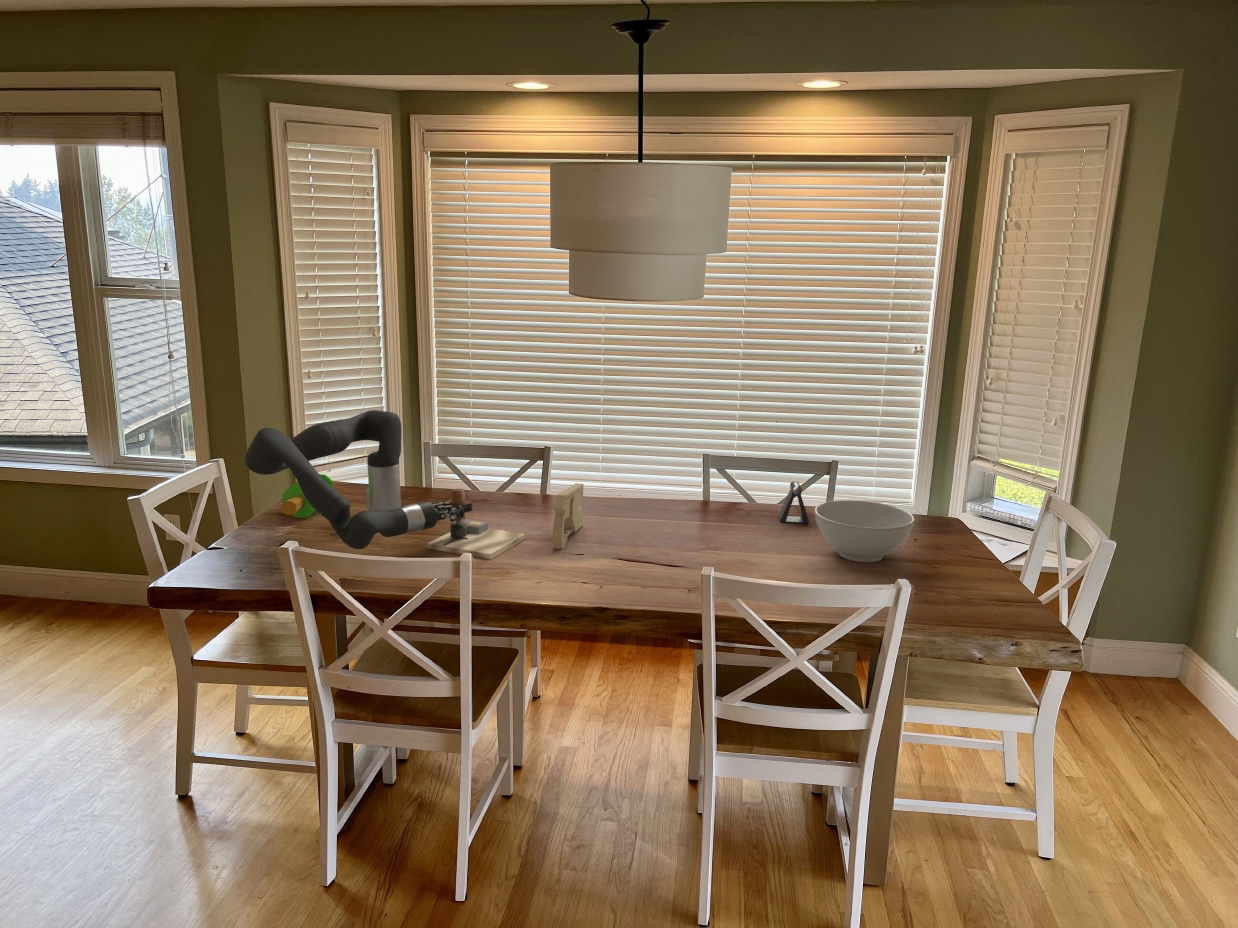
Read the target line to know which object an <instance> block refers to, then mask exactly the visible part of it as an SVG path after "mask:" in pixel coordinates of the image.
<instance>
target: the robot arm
mask: <svg viewBox="0 0 1238 928" xmlns="http://www.w3.org/2000/svg"><path fill="white" fill-rule="evenodd" d="M402 433H403V432H402V422H401V419H400V417H399V415H398V414H397V413H395V412H393V411H385V410H377V409H374V410H372V409H371V410H367V411H364V412H362V413H360V414H357V415H355V416H352V417H348V418H340V419H336V420H335V419H334V420H329V421H324V422H320V423H316V424H313V425H311V426H309V427H308V428H305V429H304V430H302V431H301V432H299V433H298V434H296V435H295V436H293V437H292V438H289V436H287V435H286V434H285V433H284V432H282V431H281V430H279V429H277V428H274V427H263V428H261V429H259V430H258V431H257V432H256V434H255V436H254V437H253V439H252V441H251V443H250V445H249V446H248V448H247V451H246V453H245V455H244V456H245V457H244V464H245V466H246V467H247V469H249V470H250V471H251V472H252V473H255V474H258V475H263V476H264V475H265V476H266V475H267V476H268V475H274V474H277V473H280V472H281V471H285V470H286V469H289V470H290V472H291V473H292V474H293V476H294V477H295V479H296V482H298V484H299V486H300V488H301V490H302V492H303V494H304V496H305V498H306V500H307V501H308V502H309V504H310V505H311V506H312V507H313V508H314V509H315V510H316V512H317V513H319V515H321V516H322V517H324V518H325V519H326V520H327V521H328V523H329V524H330V525H331V527H332V529H333V530H334V532H335V533H336V534H337V536H338V537H339V538H340V540H341V541H342V542H343V543H344V544H345V545H347V546H348V547H350V548H351V549H353V550H364V549H366V548H367V547H368V546H369V545H370V544H371V542H372V540H373V538H374V537H375V535H376V534H380V535H381V536H382V537H385V538H393V537H397V536H400V535H406V534H412V533H417V532H420V531H421V532H422V531H425V530H428V529H432V528H434V527H435V526H436V524H437V523H438V522H441V521H442V522H443V521H446V520H450V521H449V522H452V523H455V522H456V520H458V519H460V518H462V517H464V513H465V514H467V513H470V512H472V511H473V504H472V503H470V502H469V503H465V504H464V505H459V506H453V505H452V501H446V502H445V500H438V501H428V500H423V501H420V502H415V503H409V504H406V505H403V506H402V505H401V504H402V501H401V500H402V499H401V477H400V476H401V475H400V472H401V471H400V457H401V453H402ZM360 441H372V442H378V450H377V451H375V452H371V453H369V454H368V455H367V458H366V459H367V460H366V461H367V476H368V483H367V484H368V487H367V488H366V489H365V494H366V495H365V496H366V499H365V500H366V509H365V510H362V511H359V512H357V513H355V514H354V515H353V516H352V514H351V510H350V509H351V503H350V501H349V500H348V499H347V498H345V497H344V496H343V495H342V494H341V493H340V492H339V491H337V489H335V488H334V486H333V487H332V486H331V485H330V484H328V483H327V482H326V481H325V480H324V479H323V478H322V477H321V475H320V473H319V472H318V471H317V470H316V469H315V467H314V466H313V465H312V464H311V462H310V461H313V460H317V459H321V458H324V457H330V456H332V455H336V454H341V453H342V452H343V451H345V450H346V449H347V448H348V447H349V446H350V445H351V444H352V443H355V442H360ZM455 509H456V510H455Z"/></svg>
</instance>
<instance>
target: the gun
mask: <svg viewBox="0 0 1238 928" xmlns="http://www.w3.org/2000/svg"><path fill="white" fill-rule="evenodd" d="M583 498H584V483H578V482H576V483H574V484H572V485H571V486H570V487H568V488H566V489H564V490H562V491H561V492H559V493H558V494H556V498H555V502H554V507H553V510H554V511H555V513H554V518H553V526H552V527H553V528H552V535H551V536H552V546H553V547H552V548H553V549H555V550H563V549H564V548H565V546H566V544H567V542H568V537H569V536H570V535H571V534H575V533H576V532H577V531H578V530H579V529H580V528H582V526H584V522H583V506H582V500H583Z"/></svg>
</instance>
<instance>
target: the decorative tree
mask: <svg viewBox="0 0 1238 928" xmlns="http://www.w3.org/2000/svg"><path fill="white" fill-rule="evenodd" d="M319 474H320V473H319ZM320 475H321V477H322V478H323V479H324V480H325V481H326V482H327V483H328V484H330V485H331V486H332V487H333V488H334V482H333V480H332V477H331V478H330V477H329V476H328V475H326V474H322V473H321V474H320ZM282 499H283V500H282V501H283V502H282V503H283V504H281V505H280V509H281V513H283V514H284V515H287V516H292V517H294V518H303V519H304V518H305V519H308V518H309V517H310V516H312V515H313V514H314V513H316V512H317V510H315V509H314V508H313V507H312V506H311V505H310V504H309V502H308V501H307V500H306V498H305V496H304V494H303V492H302V490H301V488H300V486H299V484H298V482H297V481H296V482H295V483H294V484H291V485H290V486H289V487H288V488H287V489H286V490H285V491H284V492H283V493H282Z"/></svg>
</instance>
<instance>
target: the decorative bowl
mask: <svg viewBox="0 0 1238 928" xmlns="http://www.w3.org/2000/svg"><path fill="white" fill-rule="evenodd" d="M813 511H814V517H815V522H816V525H817V527H818V529H819V531H820V533H821V535H822V537H823V538H824V539H825V541H826V542H827V543H828V544H829V545H830V546H831V547H832V548H833V549H835V550H836V551H837V554H838V555H839V556H840V557H841V558H844V559H846V560H849V561H853V562H858V563H859V562H860V563H874V562H878V561H881V560H883V558H884V556H886V555H889V554H891V553H892V552H893V551H895V550H897V549H898V548H899V547H900V546H901V545H902V544H903V543H904V542H905V540H906V539H907V538H908V536H909V534H910V533H911V531H912V530H913V528H914V524H915V521H916V519H915V517H914V515H913V514H912V513H910V512H909V511H908V510H905V509H903V508H900V507H897V506H895V505H890V504H886V503H882V502H876V501H869V500H868V501H867V500H857V499H856V500H855V499H845V500H844V499H841V500H832V501H831V500H830V501H827V502H826V501H825V502H822V503H820V504H818V505H817V506H816V507H815V508H814V510H813Z"/></svg>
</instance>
